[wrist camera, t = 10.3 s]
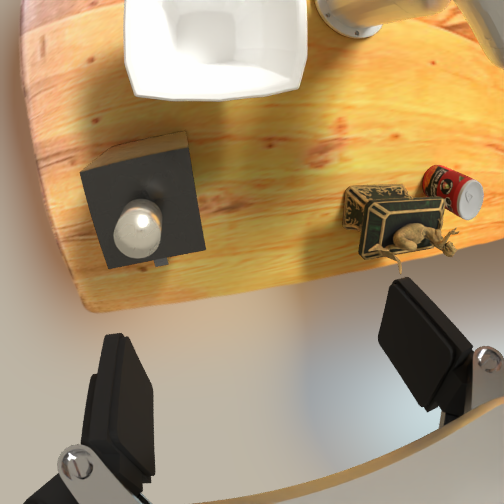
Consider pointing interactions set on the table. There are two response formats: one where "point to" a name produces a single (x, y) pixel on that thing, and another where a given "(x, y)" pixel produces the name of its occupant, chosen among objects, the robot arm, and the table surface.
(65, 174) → the table surface
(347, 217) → the decorative box
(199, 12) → the bowl
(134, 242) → the plunger
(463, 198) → the canned food
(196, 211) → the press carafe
